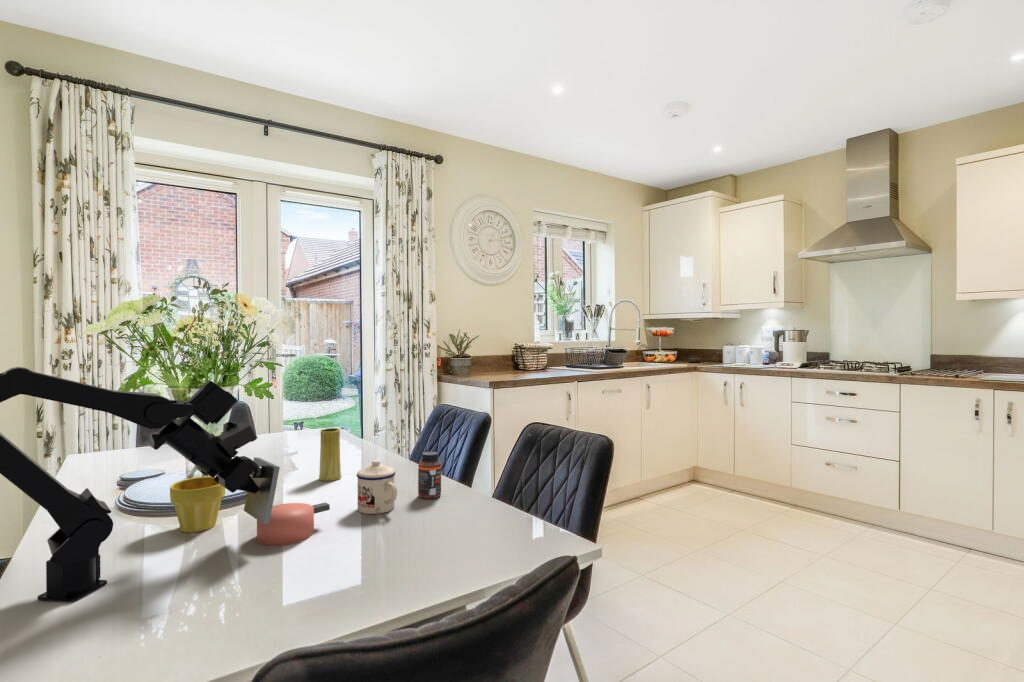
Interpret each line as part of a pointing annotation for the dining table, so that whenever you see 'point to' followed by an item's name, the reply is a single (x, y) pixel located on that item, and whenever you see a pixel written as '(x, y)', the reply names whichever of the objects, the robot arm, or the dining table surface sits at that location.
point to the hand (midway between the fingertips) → (257, 490)
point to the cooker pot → (289, 523)
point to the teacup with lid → (376, 488)
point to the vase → (330, 455)
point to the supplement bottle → (429, 476)
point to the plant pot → (197, 502)
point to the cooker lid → (262, 491)
